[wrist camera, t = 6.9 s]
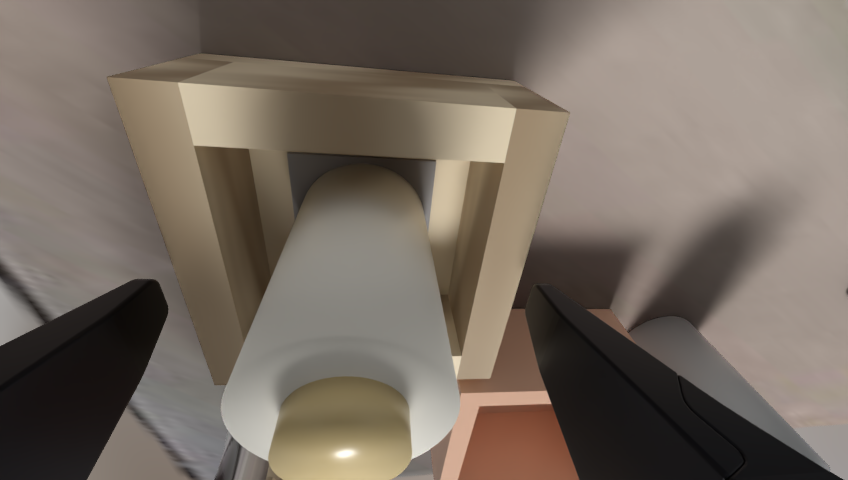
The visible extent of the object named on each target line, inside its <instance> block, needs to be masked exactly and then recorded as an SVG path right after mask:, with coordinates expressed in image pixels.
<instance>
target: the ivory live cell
mask: <svg viewBox="0 0 848 480" xmlns="http://www.w3.org/2000/svg"><path fill="white" fill-rule="evenodd" d="M459 410H460V395H459V390H458V384H457V379H456V374H455V369H454V364H453V359H452V354H451V349H450V343H449V338H448V333H447V328H446V323H445V318H444V313H443V308H442V302H441V297H440V292H439V287H438V282H437V277H436V272H435V267H434V261H433V256H432V251H431V246H430V241H429V236H428V231H427V226H426V220H425V215H424V210H423V206H422V203H421V200H420V198H419V196H418V194H417V193H416V191H415V189H414V188H413V187H412V186H411V185H410V183H408V182H407V181H406V180H405V179H404V178H403V177H401V176H400V175H398V174H397V173H395V172H393V171H391V170H389V169H387V168H384V167H381V166H377V165H373V164H365V163H361V164H348V165H344V166H340V167H337V168H335V169H332V170H330V171H328V172H327V173H325V174H323V175H322V176H321V177H320V178H318V179H317V180H316V181H315V182H314V183H313V184H312V186H311V187H310V188H309V190H308V191H307V193H306V196H305V198H304V200H303V202H302V205H301V207H300V210H299V212H298V214H297V217H296V219H295V222H294V224H293V226H292V229H291V231H290V234H289V236H288V239H287V241H286V243H285V246H284V248H283V251H282V253H281V255H280V258H279V260H278V263H277V265H276V267H275V270H274V272H273V275H272V277H271V279H270V282H269V284H268V287H267V289H266V291H265V294H264V296H263V299H262V301H261V303H260V306H259V308H258V311H257V313H256V316H255V318H254V320H253V323H252V325H251V328H250V330H249V332H248V335H247V337H246V340H245V342H244V344H243V347H242V349H241V352H240V354H239V356H238V359H237V361H236V364H235V366H234V368H233V371H232V373H231V376H230V378H229V381H228V383H227V385H226V388H225V390H224V393H223V397H222V401H221V414H222V418H223V422H224V424H225V426H226V428H227V430H228V431H229V433H230V434H231V435H232V437H233V438H234V439H235V440H236V441H237V442H238V443H239V444H240V445H241V446H243V447H244V448H246V449H247V450H248V451H250V452H251V453H253V454H255V455H257V456H258V457H260V458H262V459H265V460H267V461H269V465H270V467H271V469H272V470H273V472H274V473H275V474H276V475H277V476H278V477H280V478H281V479H283V480H391V479H393V478H395V477H396V476H398V475H399V474H400V473H402V472H403V471H404V470H405V469H406V467H407V466H408V465H409V463H410V461H411V459H413V458H415V457H417V456H419V455H421V454H423V453H425V452H426V451H428V450H430V449H431V448H432V447H434V446H435V445H437V444H438V443H439V442H440V441H441V440H442V439H443V438H444V437H445V436H446V435H447V434H448V433H449V432H450V430H451V429H452V427H453V426H454V424H455V422H456V420H457V417H458V415H459Z"/></svg>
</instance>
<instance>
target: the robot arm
mask: <svg viewBox="0 0 848 480" xmlns="http://www.w3.org/2000/svg"><path fill="white" fill-rule="evenodd" d="M167 315H168V305H167V302H166V300H165V297H164V294H163V292H162V289H161V287H160V284H159V283H158V282H157V281H156V280H154V279H135V280H132V281H130V282H128V283H126V284H124V285H122V286H120V287H118V288H116V289H114V290H112V291H110V292H108V293H106V294H104V295H102V296H100V297H98V298H96V299H94V300H92V301H90V302H88V303H86V304H84V305H82V306H80V307H78V308H76V309H74V310H72V311H70V312H68V313H66V314H64V315H62V316H60V317H58V318H56V319H54V320H52V321H50V322H48V323H46V324H44V325H42V326H40V327H38V328H36V329H34V330H32V331H30V332H28V333H26V334H24V335H22V336H20V337H18V338H16V339H14V340H12V341H10V342H8V343H6V344H4V345H2V346H0V480H87V478H88V477H89V475H90V473H91V471H92V469H93V467H94V466H95V464H96V462H97V460H98V458H99V456H100V454H101V453H102V450H103V449H104V447H105V445H106V443H107V442H108V440H109V438H110V436H111V434H112V432H113V430H114V428H115V427H116V425H117V423H118V421H119V419H120V417H121V416H122V414H123V412H124V410H125V408H126V406H127V405H128V403H129V401H130V399H131V397H132V395H133V394H134V392H135V390H136V388H137V386H138V384H139V382H140V380H141V378H142V376H143V374H144V372H145V370H146V367H147V365H148V362H149V360H150V358H151V355H152V353H153V350H154V348H155V345H156V343H157V340H158V338H159V335H160V333H161V330H162V328H163V325H164V323H165V321H166V318H167ZM525 315H526V320H527V324H528V328H529V332H530V336H531V340H532V344H533V348H534V352H535V356H536V360H537V364H538V368H539V371H540V374H541V377H542V380H543V382H544V385H545V388H546V390H547V393H548V396H549V399H550V401H551V404H552V407H553V409H554V412H555V415H556V418H557V420H558V423H559V426H560V429H561V431H562V434H563V437H564V439H565V442H566V445H567V448H568V450H569V453H570V456H571V458H572V461H573V464H574V467H575V469H576V472H577V475H578V477H579V480H843V479H842V478H840V477H838V476H836V475H835V474H833V473H831V472H830V471H828V470H826V469H825V468H823V467H822V466H820V465H818V464H817V463H815V462H814V461H812V460H810V459H809V458H807V457H806V456H804V455H802V454H801V453H799V452H798V451H796V450H794V449H793V448H791V447H790V446H788V445H786V444H785V443H783V442H782V441H780V440H778V439H777V438H775V437H774V436H772V435H770V434H769V433H767V432H766V431H764V430H762V429H761V428H759V427H758V426H756V425H754V424H753V423H751V422H750V421H748V420H747V419H745V418H743V417H742V416H740V415H739V414H737V413H736V412H734V411H732V410H731V409H729V408H728V407H726V406H725V405H723V404H722V403H720V402H719V401H717V400H716V399H714V398H713V397H711V396H710V395H708V394H707V393H705V392H704V391H702V390H701V389H700V388H698V387H697V386H695V385H694V384H692V383H691V382H689V381H688V380H687V379H685V378H684V377H682V376H681V375H677V373H676V372H675V371H674V370H672V369H671V368H669V367H668V366H667V365H665V364H664V363H662V362H661V361H659V360H658V359H657V358H655V357H654V356H652V355H651V354H649V353H648V352H647V351H645V350H644V349H642V348H641V347H639V346H638V345H637V344H635V343H634V342H632V341H631V340H629V339H628V338H627V337H625V336H624V335H622V334H621V333H619V332H618V331H617V330H615V329H614V328H612V327H611V326H609V325H608V324H607V323H605V322H604V321H602V320H601V319H599V318H598V317H597V316H595V315H594V314H592V313H591V312H589V311H588V310H587V309H585V308H584V307H582V306H581V305H579V304H578V303H577V302H575V301H574V300H572V299H571V298H569V297H568V296H567V295H565V294H564V293H562V292H561V291H559V290H558V289H557V288H555V287H554V286H552V285H551V284H535V285H533V287H532V289H531V292H530V295H529V298H528V301H527V304H526V308H525Z"/></svg>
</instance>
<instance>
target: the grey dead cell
mask: <svg viewBox="0 0 848 480" xmlns="http://www.w3.org/2000/svg"><path fill="white" fill-rule="evenodd" d="M629 335H630V336H631V337H632V339H633V340H634V341H635V343H636V344H637V345H638V346H639V347H641V348H642V349H644V350H645V351H647V352H648V353H649V354H651V355H652V356H654V357H655V358H657V359H658V360H659V361H661V362H662V363H664V364H665V365H667V366H668V367H669V368H671V369H672V370H674V371H675V372H676V373H677V375H681V376H682V377H684V378H685V379H687V380H688V381H689V382H691V383H692V384H694V385H695V386H697V387H698V388H700V389H701V390H702V391H704V392H705V393H707V394H708V395H710V396H711V397H713V398H714V399H716V400H717V401H719V402H720V403H722V404H723V405H725V406H726V407H728V408H729V409H731V410H732V411H734V412H736V413H737V414H739V415H740V416H742V417H743V418H745V419H747V420H748V421H750V422H751V423H753V424H754V425H756V426H758V427H759V428H761V429H762V430H764V431H766V432H767V433H769V434H770V435H772V436H774V437H775V438H777V439H778V440H780V441H782V442H783V443H785V444H786V445H788V446H790V447H791V448H793V449H794V450H796V451H798V452H799V453H801V454H802V455H804V456H806V457H807V458H809V459H810V460H812V461H814V462H815V463H817V464H818V465H820V466H822V467H823V468H825V469H826V470H828V471H830V467H829V465H828V464H827V463H826V462H825V461H824V460H823V459H822V458H821V457H820V456H819V455H818V454H817V453H816V452H815V451H814V450H813V449H812V448H811V447H810V446H809V445H808V444H807V443H806V442H805V441H804V440H803V438H801V437H800V435H799V434H798V433H796V431H795V430H794V429H793V428H792V427H791V426H790V425H789V424H788V423H787V422H786V421H785V420H784V419H783V418H782V417H781V416H780V415H779V414H778V413H777V412H776V411H775V410H774V409H773V408H772V407H771V406H770V405H769V403H768V402H767V401H766V400H765V399H764V398H763V397H762V396H761V395H760V394H759V393H758V392H757V391H756V390H755V389H754V388H753V387H752V386H751V385H750V384H749V383H748V382H747V381H746V380H745V379H744V378H743V377H742V376H741V375H740V374H739V373H738V372H737V371H736V369H735V368H734V367H733V366H732V365H731V364H730V363H729V362H728V361H727V360H726V359H725V358H724V357H723V356H722V355H721V354H720V353H719V352H718V351H717V350H716V349H715V348H714V347H713V346H712V345H711V344H710V343H709V342H708V341H707V340H706V339H705V338H704V337H703V336H702V334H701V333H700V332H699V331H698V330H697V329H696V328H695V327H694V326H693V325H692V324H691V323H690V322H689V321H688V320H686V319H684V318H681V317H677V316H666V317H660V318H656V319H652V320H650V321H647V322H645V323H643V324H641V325H639V326H637V327H636V328H634V329H633V330H631V331H630V332H629Z"/></svg>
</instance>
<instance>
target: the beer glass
mask: <svg viewBox="0 0 848 480" xmlns="http://www.w3.org/2000/svg"><path fill="white" fill-rule="evenodd" d="M214 480H283V479H281V478H280V477H278V476H277V475H276V474H275V473H274V472H273V470H272V469H271V467H270V465H269V461H267V460H265V459H262V458H260V457H258V456H257V455H255V454H253V453H251V452H250V451H248V450H247V449H246V448H244V447H243V446H241V445H240V444H239V443H238V442H237V441H236V440H235V439H234V438H233V437H232V435H231V434H230V433H229V431H228V430H227V435H226V441H225V445H224V450H223V454H222V458H221V461H220V464H219V467H218V470H217V473H216V476H215V479H214Z"/></svg>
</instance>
